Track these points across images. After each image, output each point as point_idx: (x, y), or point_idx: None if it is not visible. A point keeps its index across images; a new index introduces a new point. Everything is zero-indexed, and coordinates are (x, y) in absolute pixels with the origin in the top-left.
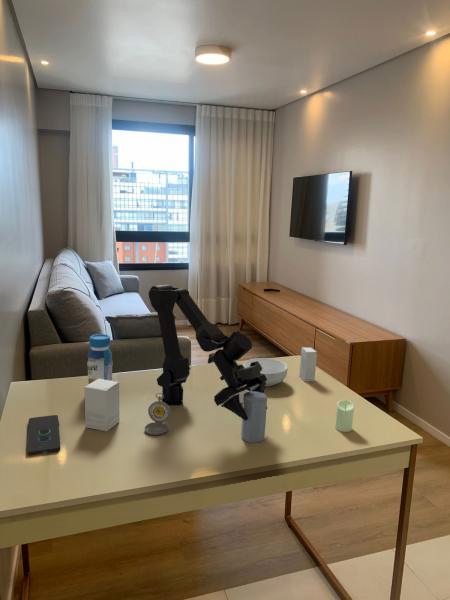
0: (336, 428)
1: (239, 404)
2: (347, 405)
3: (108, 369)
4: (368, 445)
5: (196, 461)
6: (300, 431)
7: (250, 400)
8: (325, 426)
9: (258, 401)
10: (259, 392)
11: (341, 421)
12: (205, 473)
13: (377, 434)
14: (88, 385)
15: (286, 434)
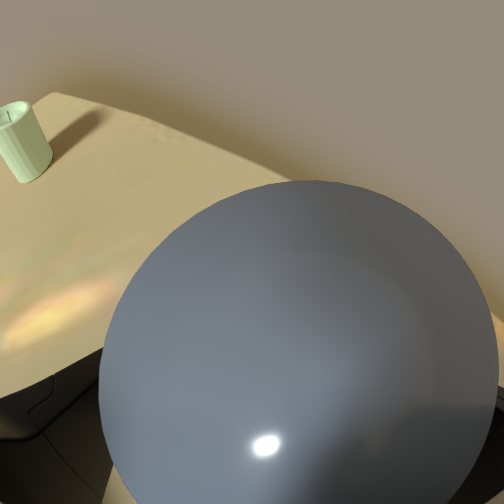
0: (42, 171)
1: (502, 399)
2: (3, 118)
3: None
4: (103, 105)
5: None
6: (87, 240)
7: (487, 323)
8: (33, 199)
9: (431, 233)
10: (119, 422)
11: (40, 140)
12: (499, 324)
13: (52, 117)
14: None
15: (135, 272)
